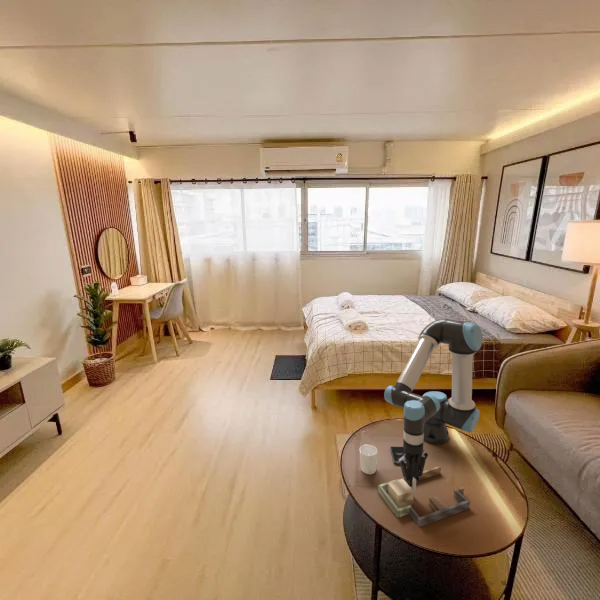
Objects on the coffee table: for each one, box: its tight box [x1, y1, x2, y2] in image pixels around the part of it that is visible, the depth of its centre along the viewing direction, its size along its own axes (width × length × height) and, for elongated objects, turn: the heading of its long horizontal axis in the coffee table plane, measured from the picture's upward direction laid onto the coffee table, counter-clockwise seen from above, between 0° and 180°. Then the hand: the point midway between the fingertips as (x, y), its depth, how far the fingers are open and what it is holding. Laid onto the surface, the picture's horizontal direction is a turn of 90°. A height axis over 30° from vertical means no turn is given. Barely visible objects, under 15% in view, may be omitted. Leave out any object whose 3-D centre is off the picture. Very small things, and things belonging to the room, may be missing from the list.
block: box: [387, 478, 415, 508], centre depth 131 cm, size 7×7×6 cm
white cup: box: [358, 444, 378, 475], centre depth 148 cm, size 8×8×10 cm
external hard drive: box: [389, 445, 407, 466], centre depth 156 cm, size 7×11×2 cm, turn 174°
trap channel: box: [377, 465, 471, 528], centre depth 131 cm, size 31×20×3 cm, turn 108°
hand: (412, 491), depth 132 cm, fingers closed
